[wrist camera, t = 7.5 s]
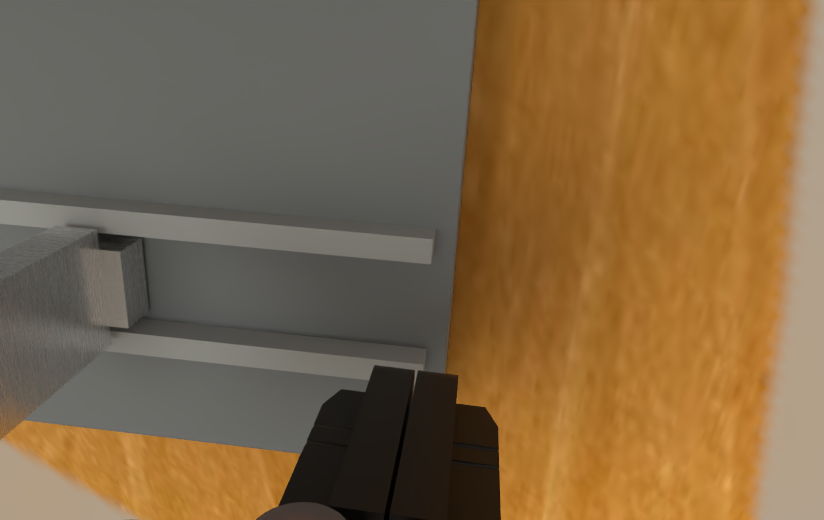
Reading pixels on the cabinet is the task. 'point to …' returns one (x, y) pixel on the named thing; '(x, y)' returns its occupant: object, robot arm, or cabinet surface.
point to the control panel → (245, 195)
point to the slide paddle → (62, 310)
